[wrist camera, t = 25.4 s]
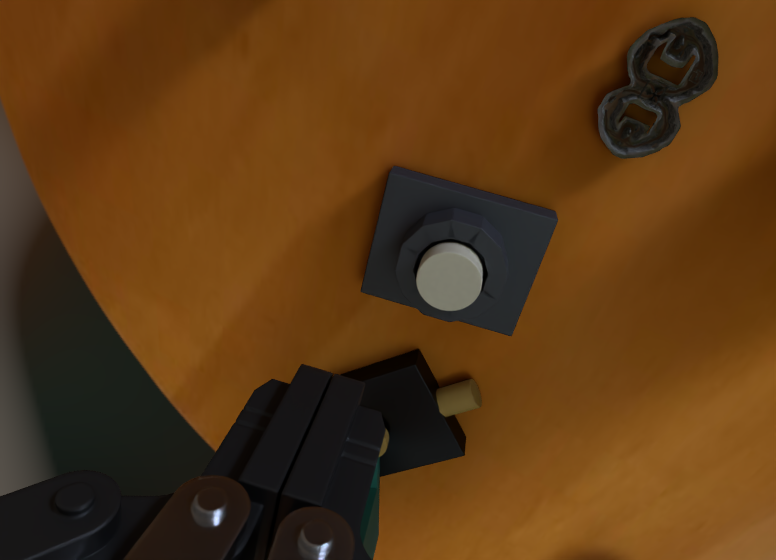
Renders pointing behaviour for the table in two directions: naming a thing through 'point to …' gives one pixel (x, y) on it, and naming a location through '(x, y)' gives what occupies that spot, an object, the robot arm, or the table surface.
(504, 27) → the table surface
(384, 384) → the valve block
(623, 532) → the table surface
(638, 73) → the corroded twin loop
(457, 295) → the button
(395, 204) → the button housing
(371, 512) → the valve lever
